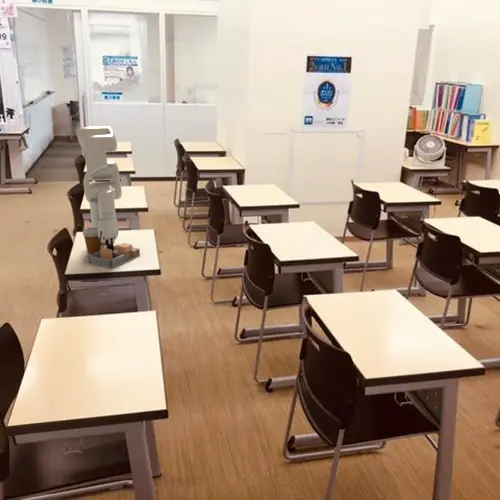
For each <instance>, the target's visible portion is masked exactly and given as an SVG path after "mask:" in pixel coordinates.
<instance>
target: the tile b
mask: <svg viewBox="0 0 500 500" xmlns="http://www.w3.org/2000/svg"><path fill="white" fill-rule="evenodd" d="M132 247H133V244H130V243H126V242H123V243H121V244H119V246H118V252H122V253H128V252H130V251H132V250H133V249H132Z"/></svg>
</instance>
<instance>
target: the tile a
mask: <svg viewBox="0 0 500 500" xmlns="http://www.w3.org/2000/svg"><path fill="white" fill-rule="evenodd" d="M100 258H103V259H107V260H112V259H113V255H112V249H107V247H103V248H101V249H100Z"/></svg>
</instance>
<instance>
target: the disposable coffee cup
mask: <svg viewBox="0 0 500 500" xmlns="http://www.w3.org/2000/svg"><path fill="white" fill-rule="evenodd" d="M82 231H83V232H82V236H83V238H84V242H85V246H86V250H87V254H88V255H92V254H94V253H96V252H99V251H100V249H102V244H101V239H99V238H98V228H92V227H88V228H84V229H83V230H82Z"/></svg>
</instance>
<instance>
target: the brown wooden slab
mask: <svg viewBox="0 0 500 500" xmlns="http://www.w3.org/2000/svg"><path fill="white" fill-rule="evenodd" d="M119 245H120V244H116V245H114V251H112V255H113V258H116V257H118V256H120V255H123V254H124V255H125V262H128V260H131V259H133V258H135V257H137V256H139V255H140V248H139V247H134V246H132V249H133V250H132V251H130V252H128V253H122V252H118V246H119Z"/></svg>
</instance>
